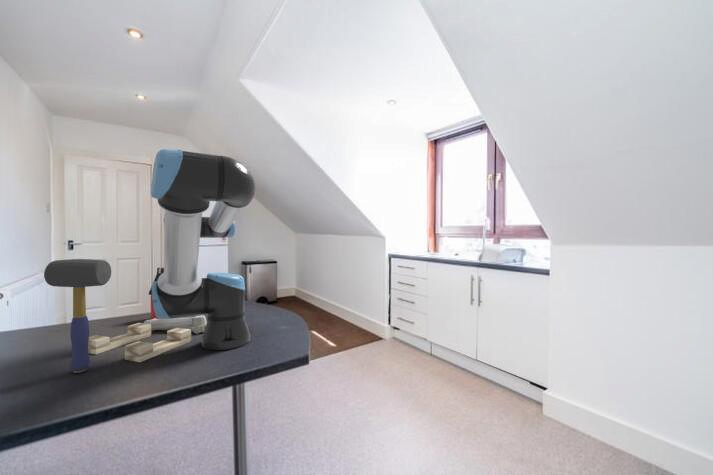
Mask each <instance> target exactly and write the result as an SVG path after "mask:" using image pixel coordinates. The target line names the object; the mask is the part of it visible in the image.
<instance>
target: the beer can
mask: <svg viewBox="0 0 713 475" xmlns="http://www.w3.org/2000/svg"><path fill="white" fill-rule="evenodd" d="M154 318H156V319H159V318H157V317H156V315H155V311H154V306H153V299H152V295H150V320H152V319H154Z"/></svg>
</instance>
